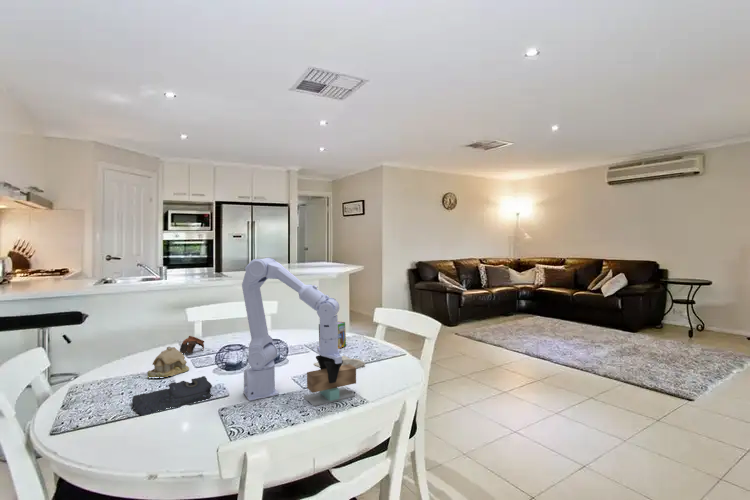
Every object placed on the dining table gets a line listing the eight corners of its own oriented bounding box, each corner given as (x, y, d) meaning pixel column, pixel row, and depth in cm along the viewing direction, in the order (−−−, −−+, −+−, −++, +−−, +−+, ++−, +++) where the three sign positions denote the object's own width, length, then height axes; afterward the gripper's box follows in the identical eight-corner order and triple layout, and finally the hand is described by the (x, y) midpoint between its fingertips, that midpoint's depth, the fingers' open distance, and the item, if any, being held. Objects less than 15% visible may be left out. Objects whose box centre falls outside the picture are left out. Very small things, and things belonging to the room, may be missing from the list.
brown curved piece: (177, 352, 175) (186, 334, 178) (198, 359, 178) (206, 342, 181) (176, 352, 164) (186, 333, 167) (198, 359, 167) (207, 341, 170)
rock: (302, 368, 151) (319, 376, 139) (303, 356, 152) (319, 362, 139) (350, 363, 163) (369, 369, 151) (350, 351, 163) (369, 357, 151)
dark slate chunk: (129, 402, 121) (128, 387, 121) (203, 384, 135) (202, 371, 135) (137, 419, 109) (136, 402, 109) (217, 398, 123) (217, 383, 123)
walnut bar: (312, 392, 117) (312, 376, 117) (307, 387, 121) (306, 372, 121) (356, 383, 125) (356, 367, 125) (349, 378, 129) (349, 364, 129)
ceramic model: (169, 366, 154) (169, 341, 154) (194, 368, 152) (194, 342, 151) (141, 379, 140) (141, 351, 140) (168, 381, 138) (167, 353, 138)
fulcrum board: (313, 406, 116) (313, 395, 116) (303, 397, 122) (303, 386, 122) (354, 396, 123) (354, 385, 123) (343, 388, 130) (343, 378, 130)
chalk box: (346, 346, 181) (346, 315, 180) (334, 351, 173) (333, 318, 172) (330, 343, 186) (330, 313, 185) (318, 348, 178) (318, 316, 177)
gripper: (350, 340, 118) (351, 384, 118) (330, 331, 130) (331, 371, 131) (329, 344, 114) (330, 389, 115) (311, 334, 127) (311, 375, 127)
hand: (329, 380), depth 123 cm, fingers closed on walnut bar, 4 cm apart
